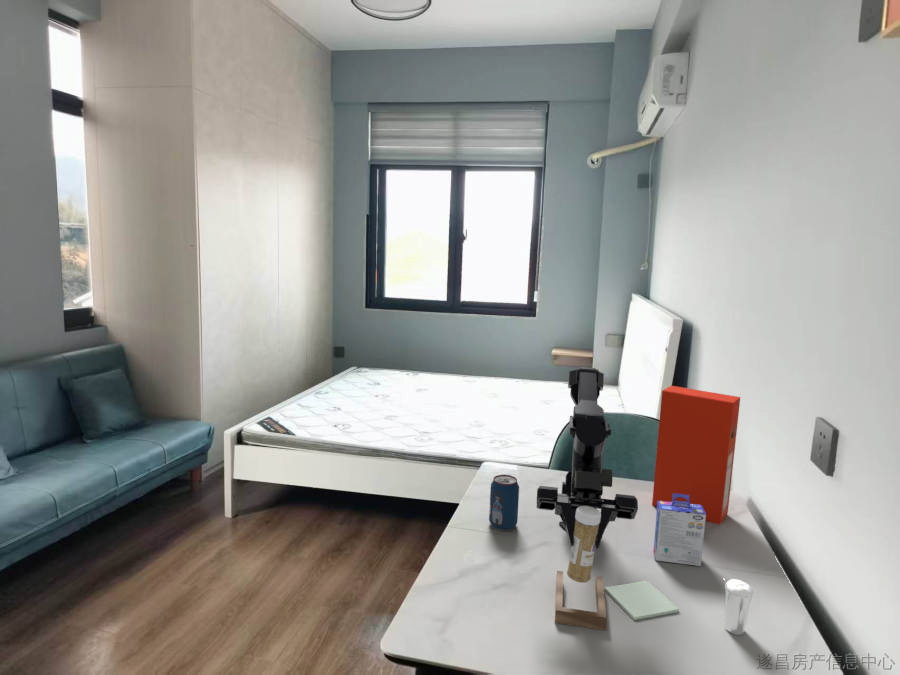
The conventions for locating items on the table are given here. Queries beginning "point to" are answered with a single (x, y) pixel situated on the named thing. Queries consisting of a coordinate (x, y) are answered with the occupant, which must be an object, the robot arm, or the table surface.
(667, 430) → the red box
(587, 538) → the sprinkles bottle
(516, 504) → the soda can
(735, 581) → the milkshake
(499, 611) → the table surface
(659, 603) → the pad
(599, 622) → the wooden holder
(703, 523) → the ink cartridge box
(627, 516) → the robot arm
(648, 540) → the table surface
